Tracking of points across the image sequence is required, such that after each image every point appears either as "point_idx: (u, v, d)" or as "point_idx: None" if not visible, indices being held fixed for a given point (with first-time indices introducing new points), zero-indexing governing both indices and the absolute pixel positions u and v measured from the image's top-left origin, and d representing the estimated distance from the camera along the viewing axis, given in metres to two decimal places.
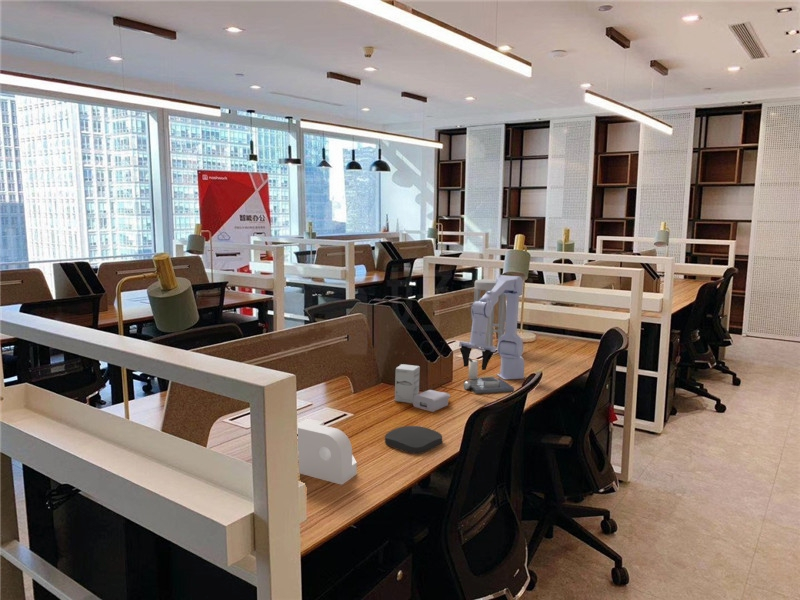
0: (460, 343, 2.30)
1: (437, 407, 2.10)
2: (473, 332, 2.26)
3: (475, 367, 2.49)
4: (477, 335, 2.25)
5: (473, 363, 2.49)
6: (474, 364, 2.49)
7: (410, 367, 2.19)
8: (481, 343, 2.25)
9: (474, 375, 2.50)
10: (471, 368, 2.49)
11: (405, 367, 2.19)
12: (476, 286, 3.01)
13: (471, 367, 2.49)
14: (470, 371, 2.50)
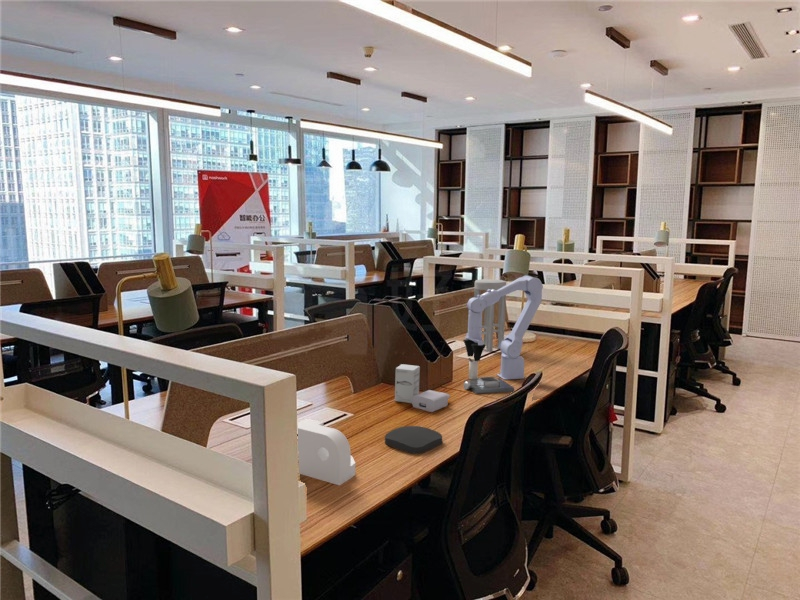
0: (466, 335, 2.55)
1: (437, 407, 2.10)
2: (468, 326, 2.48)
3: (475, 367, 2.49)
4: (469, 329, 2.47)
5: (473, 363, 2.49)
6: (474, 364, 2.49)
7: (410, 367, 2.19)
8: (473, 336, 2.46)
9: (474, 375, 2.50)
10: (471, 368, 2.49)
11: (405, 367, 2.19)
12: (476, 286, 3.01)
13: (471, 367, 2.49)
14: (470, 371, 2.50)
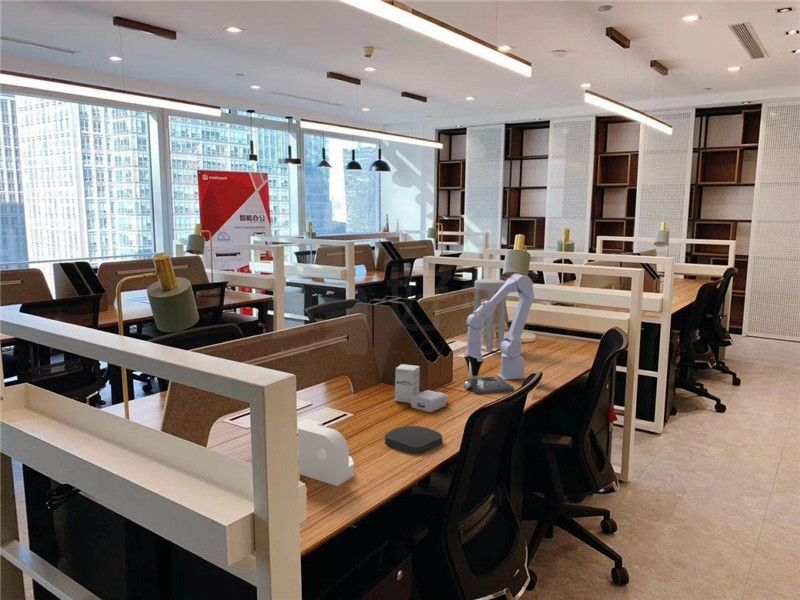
0: (465, 351, 2.56)
1: (435, 407, 2.09)
2: (467, 342, 2.49)
3: None
4: (469, 345, 2.48)
5: None
6: None
7: (410, 367, 2.19)
8: (472, 353, 2.47)
9: None
10: (471, 368, 2.49)
11: (405, 367, 2.19)
12: (476, 286, 3.01)
13: None
14: (470, 371, 2.50)
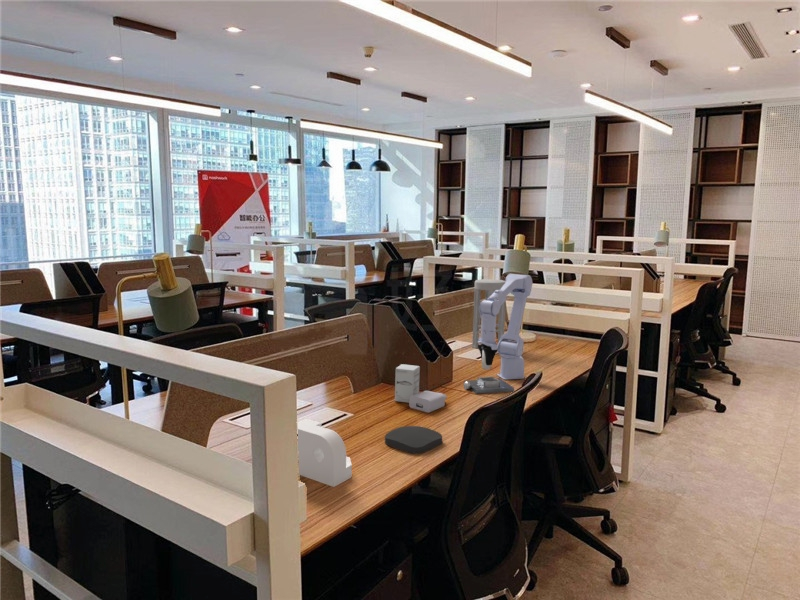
0: (479, 339, 2.44)
1: (434, 408, 2.09)
2: (481, 330, 2.37)
3: None
4: (482, 333, 2.35)
5: None
6: None
7: (410, 367, 2.19)
8: (486, 341, 2.35)
9: (487, 365, 2.37)
10: (484, 357, 2.37)
11: (405, 367, 2.19)
12: (476, 286, 3.01)
13: (484, 356, 2.37)
14: (483, 360, 2.37)
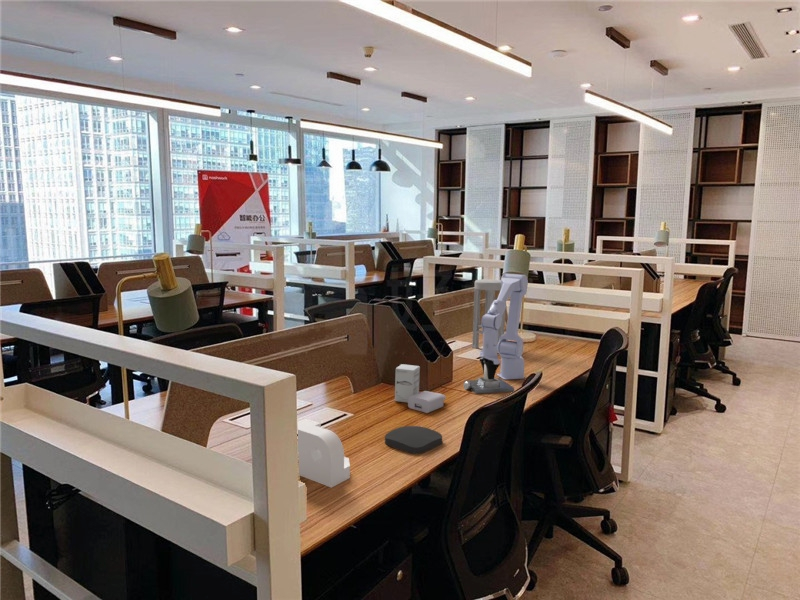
0: (480, 353, 2.43)
1: (432, 408, 2.09)
2: None
3: None
4: (484, 347, 2.34)
5: None
6: None
7: (410, 367, 2.19)
8: (488, 355, 2.34)
9: (489, 379, 2.36)
10: (486, 371, 2.36)
11: (405, 367, 2.19)
12: (476, 286, 3.01)
13: (486, 370, 2.36)
14: (485, 374, 2.36)
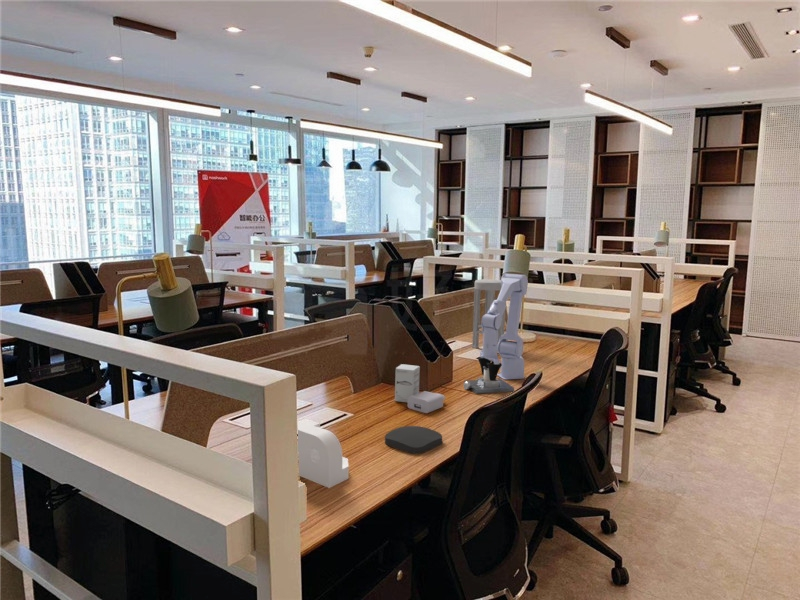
0: (480, 353, 2.43)
1: (432, 408, 2.08)
2: None
3: None
4: (484, 347, 2.34)
5: (488, 372, 2.36)
6: None
7: (410, 367, 2.19)
8: (488, 355, 2.34)
9: None
10: (486, 377, 2.36)
11: (405, 367, 2.19)
12: (476, 286, 3.01)
13: (486, 376, 2.36)
14: (485, 380, 2.37)
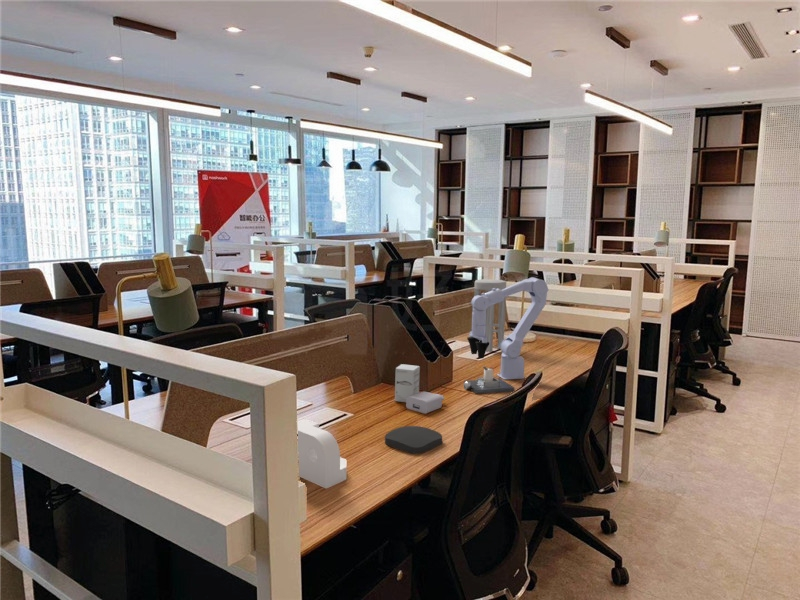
0: (470, 333, 2.56)
1: (430, 409, 2.08)
2: None
3: (490, 376, 2.36)
4: (473, 327, 2.48)
5: (488, 372, 2.36)
6: (489, 373, 2.36)
7: (410, 367, 2.19)
8: (477, 334, 2.47)
9: None
10: (486, 377, 2.36)
11: (405, 367, 2.19)
12: (476, 286, 3.01)
13: (486, 376, 2.36)
14: (485, 380, 2.37)
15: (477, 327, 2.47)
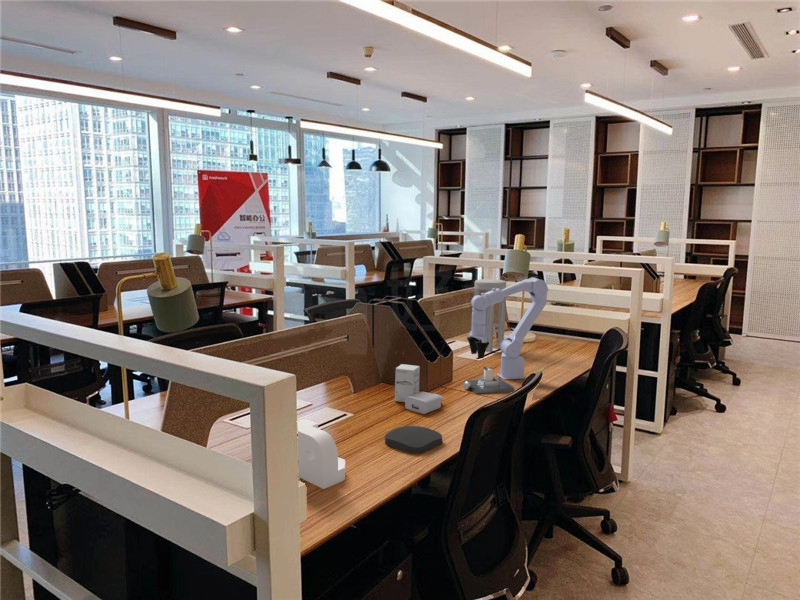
0: None
1: (429, 409, 2.08)
2: None
3: (490, 376, 2.36)
4: (473, 327, 2.48)
5: (488, 372, 2.36)
6: (489, 373, 2.36)
7: (410, 367, 2.19)
8: (477, 334, 2.47)
9: None
10: (486, 377, 2.36)
11: (405, 367, 2.19)
12: (476, 286, 3.01)
13: (486, 376, 2.36)
14: (485, 380, 2.37)
15: (477, 327, 2.47)
